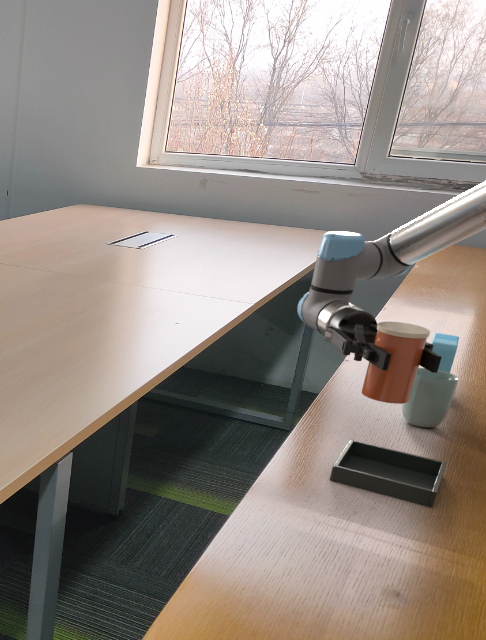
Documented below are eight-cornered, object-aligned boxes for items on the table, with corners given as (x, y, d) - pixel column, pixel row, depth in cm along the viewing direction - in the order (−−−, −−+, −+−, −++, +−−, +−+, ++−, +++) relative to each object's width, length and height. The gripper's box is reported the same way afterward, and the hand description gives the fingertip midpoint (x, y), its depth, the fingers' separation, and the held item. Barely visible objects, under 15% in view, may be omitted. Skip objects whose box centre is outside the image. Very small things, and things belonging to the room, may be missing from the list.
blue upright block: (441, 403, 165) (457, 347, 161) (416, 398, 168) (431, 343, 163) (443, 388, 175) (459, 334, 170) (420, 383, 177) (435, 331, 172)
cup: (447, 434, 149) (463, 383, 145) (400, 427, 151) (415, 377, 148) (438, 420, 156) (453, 371, 152) (394, 413, 158) (407, 365, 154)
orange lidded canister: (413, 395, 136) (432, 327, 132) (407, 407, 131) (427, 336, 126) (364, 385, 140) (381, 319, 136) (356, 396, 135) (374, 327, 130)
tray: (441, 479, 130) (446, 462, 129) (431, 511, 119) (436, 492, 118) (346, 455, 138) (350, 439, 136) (328, 483, 127) (333, 465, 126)
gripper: (397, 348, 151) (468, 388, 129) (289, 342, 151) (342, 382, 130) (407, 309, 148) (482, 343, 126) (297, 303, 148) (353, 337, 127)
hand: (411, 363), depth 128 cm, fingers closed on orange lidded canister, 7 cm apart
